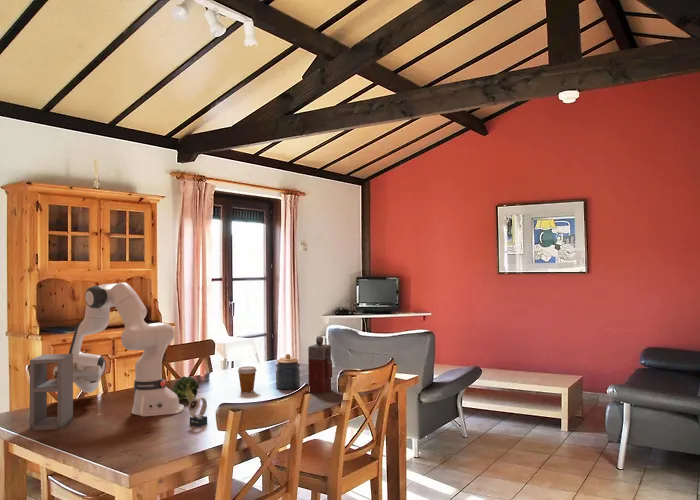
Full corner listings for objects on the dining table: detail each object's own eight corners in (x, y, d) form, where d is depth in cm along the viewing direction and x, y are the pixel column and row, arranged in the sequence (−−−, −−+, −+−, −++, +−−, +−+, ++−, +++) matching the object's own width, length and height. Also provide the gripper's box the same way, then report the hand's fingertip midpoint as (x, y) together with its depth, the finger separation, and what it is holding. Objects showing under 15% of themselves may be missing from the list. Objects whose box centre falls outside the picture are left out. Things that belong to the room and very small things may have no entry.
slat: (77, 368, 267) (77, 362, 267) (59, 378, 245) (59, 371, 245) (73, 368, 267) (73, 362, 267) (54, 378, 245) (54, 371, 245)
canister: (299, 390, 300) (298, 355, 300) (273, 390, 300) (273, 356, 300) (301, 384, 313) (301, 351, 313) (277, 384, 313) (277, 352, 313)
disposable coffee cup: (258, 389, 302) (258, 366, 302) (253, 393, 293) (253, 369, 293) (240, 389, 303) (240, 366, 303) (235, 393, 294) (235, 369, 294)
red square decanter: (328, 394, 291) (328, 338, 291) (308, 392, 295) (308, 337, 295) (335, 390, 299) (335, 335, 299) (315, 388, 303) (315, 334, 303)
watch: (186, 426, 236) (186, 399, 236) (200, 421, 243) (200, 394, 243) (196, 428, 233) (196, 400, 233) (210, 423, 240) (210, 396, 240)
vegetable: (174, 401, 268) (164, 382, 280) (188, 415, 277) (178, 396, 288) (196, 385, 271) (186, 366, 282) (209, 399, 279) (199, 381, 290)
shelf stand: (76, 416, 251) (76, 352, 252) (61, 428, 233) (61, 359, 234) (47, 418, 250) (47, 352, 250) (29, 430, 232) (29, 359, 232)
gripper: (59, 370, 276) (50, 359, 264) (104, 368, 279) (97, 358, 267) (57, 383, 273) (47, 373, 261) (102, 381, 275) (94, 371, 264)
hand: (72, 365), depth 264 cm, fingers closed on slat, 2 cm apart
